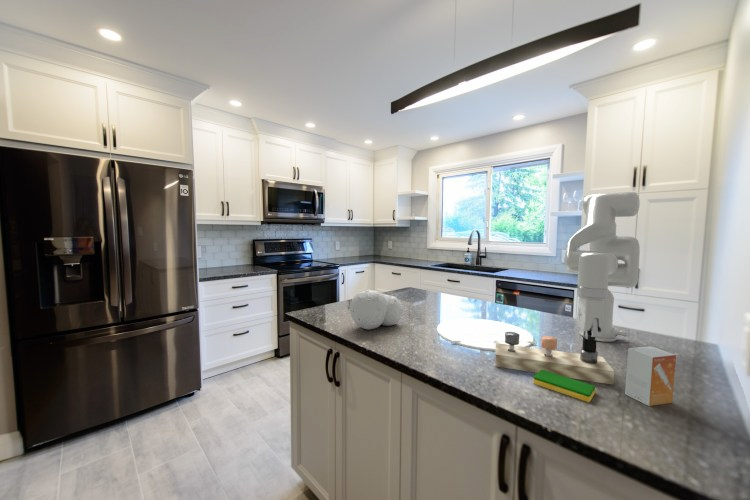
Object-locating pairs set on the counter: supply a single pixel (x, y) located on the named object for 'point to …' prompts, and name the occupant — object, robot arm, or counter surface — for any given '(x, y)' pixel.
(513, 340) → the far knob
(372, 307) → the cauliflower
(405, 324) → the counter surface
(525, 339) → the lazy susan
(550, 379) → the dish sponge
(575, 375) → the knob mount
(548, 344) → the middle knob
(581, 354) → the near knob
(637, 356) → the small box
